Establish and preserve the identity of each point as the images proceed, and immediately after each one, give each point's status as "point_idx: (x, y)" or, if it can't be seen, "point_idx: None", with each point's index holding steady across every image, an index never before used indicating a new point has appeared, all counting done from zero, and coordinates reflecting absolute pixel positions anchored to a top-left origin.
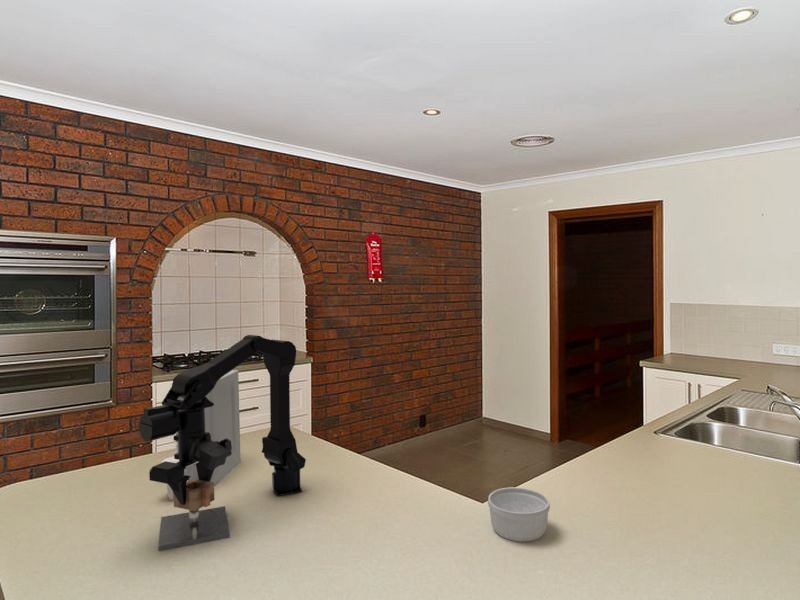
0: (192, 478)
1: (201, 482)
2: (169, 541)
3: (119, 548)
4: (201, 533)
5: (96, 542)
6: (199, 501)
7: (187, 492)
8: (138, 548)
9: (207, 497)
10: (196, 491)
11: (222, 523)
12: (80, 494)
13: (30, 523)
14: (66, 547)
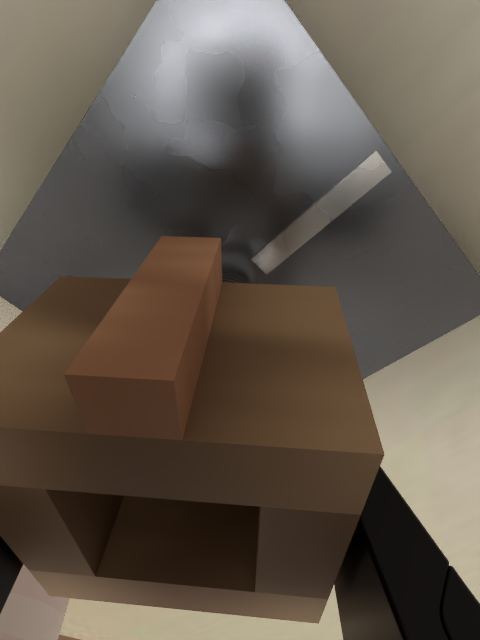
0: None
1: (46, 528)
2: (438, 286)
3: (465, 434)
4: (306, 169)
5: (427, 502)
6: (262, 326)
7: (352, 518)
8: (461, 380)
9: (176, 286)
10: (310, 454)
11: (131, 126)
12: (205, 619)
13: None
14: (466, 538)
